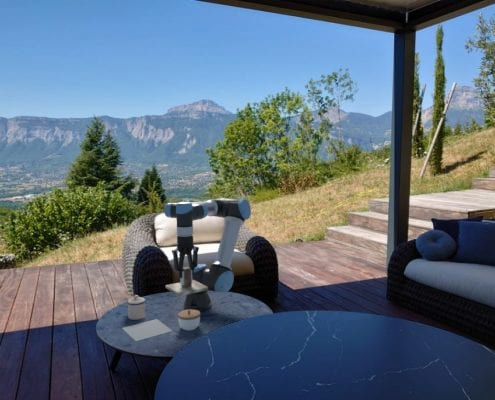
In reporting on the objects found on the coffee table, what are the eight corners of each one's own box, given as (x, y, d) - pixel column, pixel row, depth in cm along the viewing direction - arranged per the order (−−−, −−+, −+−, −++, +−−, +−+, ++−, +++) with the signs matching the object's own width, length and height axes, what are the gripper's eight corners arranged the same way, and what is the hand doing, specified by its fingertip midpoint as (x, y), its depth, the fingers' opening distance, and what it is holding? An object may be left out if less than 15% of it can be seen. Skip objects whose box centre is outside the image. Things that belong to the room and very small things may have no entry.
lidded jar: (202, 324, 202) (202, 306, 201) (198, 334, 191) (197, 314, 190) (181, 324, 203) (180, 305, 202) (175, 333, 192) (175, 314, 191)
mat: (156, 319, 208) (156, 318, 208) (172, 331, 194) (172, 330, 194) (121, 329, 198) (121, 328, 198) (135, 342, 183) (135, 341, 183)
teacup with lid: (149, 316, 213) (148, 294, 211) (135, 322, 206) (134, 299, 204) (135, 311, 220) (134, 290, 219) (121, 316, 213) (120, 295, 212)
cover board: (193, 281, 205) (192, 262, 204) (208, 289, 193) (207, 268, 192) (165, 287, 197) (164, 267, 196) (179, 296, 184) (178, 274, 183)
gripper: (196, 231, 200) (198, 278, 202) (165, 236, 190) (167, 284, 193) (204, 234, 194) (205, 282, 196) (172, 238, 184) (173, 288, 187)
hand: (186, 283), depth 195 cm, fingers closed on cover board, 3 cm apart
